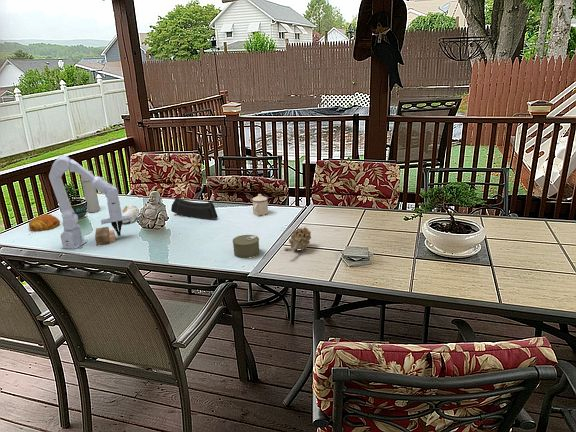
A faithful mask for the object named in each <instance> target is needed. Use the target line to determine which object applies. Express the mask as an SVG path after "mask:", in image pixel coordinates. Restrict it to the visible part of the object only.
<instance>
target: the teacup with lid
mask: <svg viewBox="0 0 576 432" xmlns="http://www.w3.org/2000/svg"><path fill="white" fill-rule="evenodd" d="M268 200H269V198H268V197H267V196H264V195H262V194H261V193H258V194H257V196H255V197H253V198H252V199H251V201H252V211H253V215H254V214H255V215H254V216H258V215H262V216H266V215H268V214H269V205H268V204H269V203H268ZM267 213H268V214H267ZM265 214H266V215H265Z"/></svg>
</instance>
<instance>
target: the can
mask: <svg viewBox="0 0 576 432" xmlns="http://www.w3.org/2000/svg"><path fill="white" fill-rule="evenodd" d="M232 245H233V246H232V247H233V255H234V257H236V258H239V259H250V258H249V257H252V258H254V257H253V256H255V257H257V256H258V255H260V238H259V236H258V235H254V234H253V235H252V234H242V235H238V236H235V237H234V238H233V239H232ZM257 254H258V255H257ZM256 255H257V256H256Z"/></svg>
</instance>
